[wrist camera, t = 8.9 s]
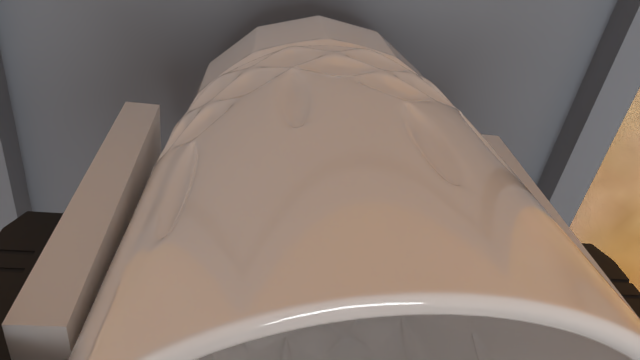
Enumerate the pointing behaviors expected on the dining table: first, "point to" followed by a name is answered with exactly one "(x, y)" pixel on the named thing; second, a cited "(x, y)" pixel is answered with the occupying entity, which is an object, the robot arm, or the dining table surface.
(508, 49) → the tray
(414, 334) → the white cup
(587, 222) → the dining table surface
